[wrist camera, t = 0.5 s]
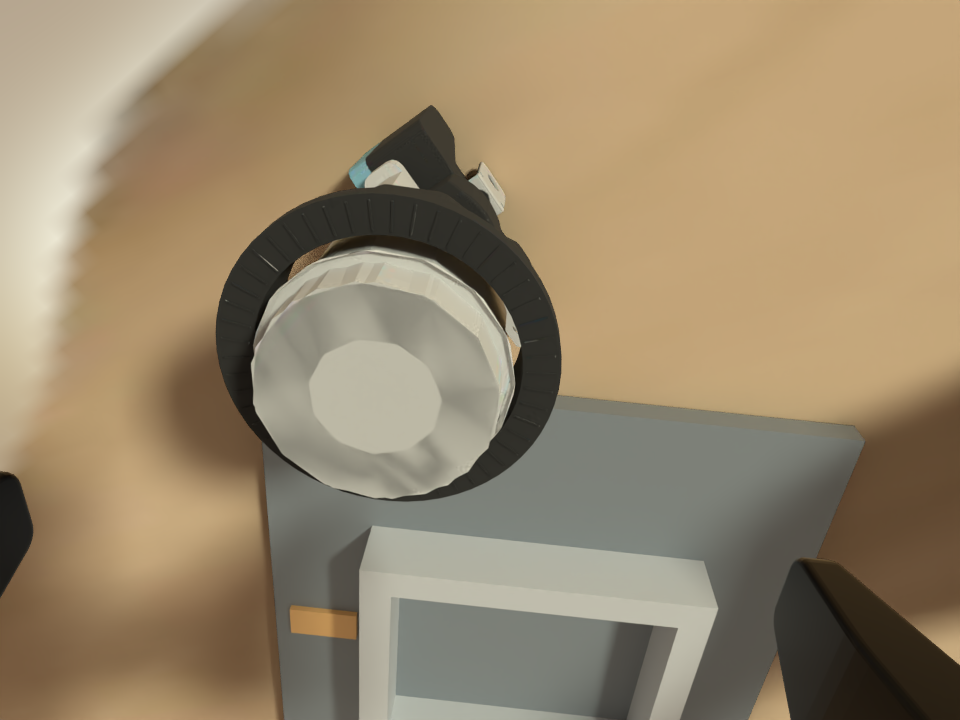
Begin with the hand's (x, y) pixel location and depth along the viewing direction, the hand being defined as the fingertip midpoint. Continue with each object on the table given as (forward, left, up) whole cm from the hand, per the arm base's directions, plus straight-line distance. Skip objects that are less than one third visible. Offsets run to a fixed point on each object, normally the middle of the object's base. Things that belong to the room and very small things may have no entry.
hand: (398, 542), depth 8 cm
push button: (0, 0, -12) cm, 12 cm away
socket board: (-3, +15, -12) cm, 20 cm away
